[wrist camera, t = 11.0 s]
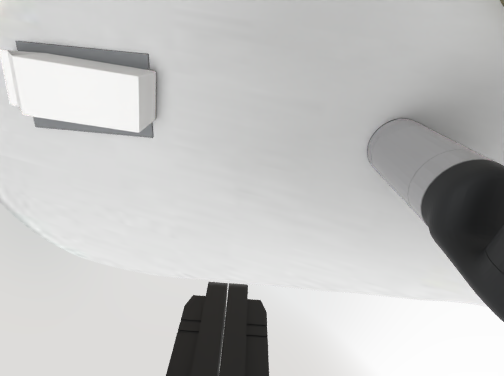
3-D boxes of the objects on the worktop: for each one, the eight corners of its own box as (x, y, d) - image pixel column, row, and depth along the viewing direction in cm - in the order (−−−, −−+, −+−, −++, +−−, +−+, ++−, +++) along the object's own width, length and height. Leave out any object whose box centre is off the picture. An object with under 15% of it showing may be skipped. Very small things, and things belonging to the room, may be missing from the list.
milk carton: (139, 76, 36) (-25, 49, 35) (140, 133, 39) (-11, 110, 38) (157, 71, 42) (19, 48, 41) (156, 120, 45) (28, 100, 44)
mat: (148, 54, 42) (147, 54, 41) (153, 137, 47) (152, 137, 47) (16, 41, 41) (15, 41, 41) (36, 126, 46) (35, 127, 46)
